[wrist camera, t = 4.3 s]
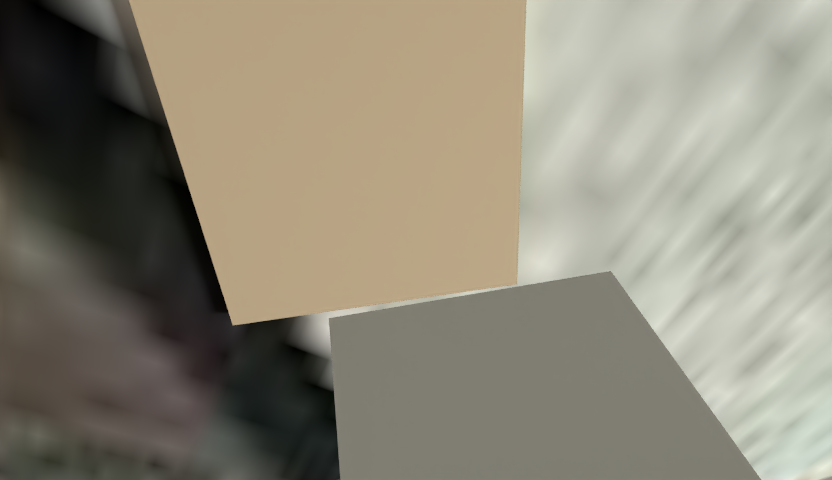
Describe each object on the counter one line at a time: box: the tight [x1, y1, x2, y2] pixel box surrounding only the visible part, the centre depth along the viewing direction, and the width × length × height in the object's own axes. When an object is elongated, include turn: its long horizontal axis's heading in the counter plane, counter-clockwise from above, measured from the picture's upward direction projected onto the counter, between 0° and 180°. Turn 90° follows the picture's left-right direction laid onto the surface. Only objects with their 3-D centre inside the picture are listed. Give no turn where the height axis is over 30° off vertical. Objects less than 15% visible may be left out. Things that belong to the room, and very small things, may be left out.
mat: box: [129, 0, 526, 325], centre depth 19 cm, size 10×12×1 cm
